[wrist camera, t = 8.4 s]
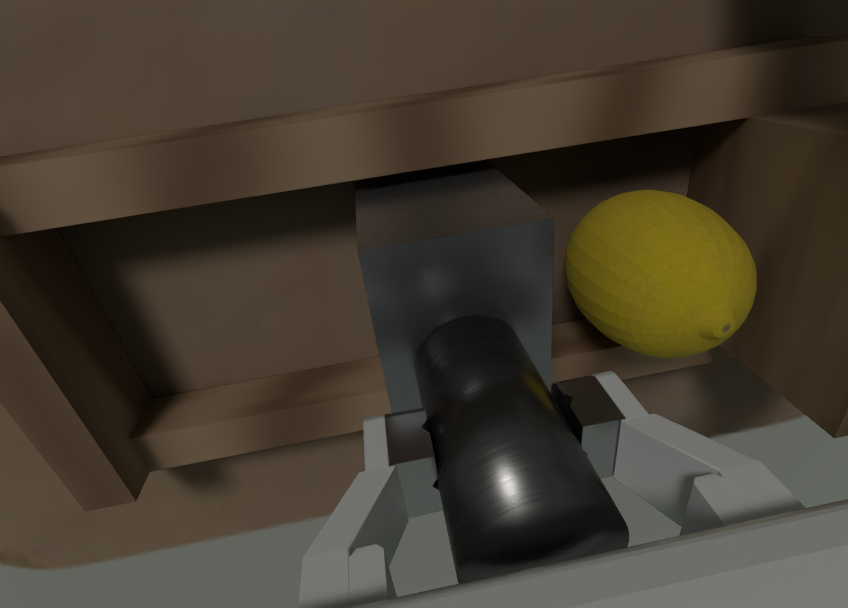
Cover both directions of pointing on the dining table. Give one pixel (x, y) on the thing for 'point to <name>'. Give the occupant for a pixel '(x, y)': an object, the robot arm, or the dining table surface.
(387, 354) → the dark upright piece
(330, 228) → the dining table surface
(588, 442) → the robot arm
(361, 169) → the frame
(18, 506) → the dining table surface
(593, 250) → the lemon
